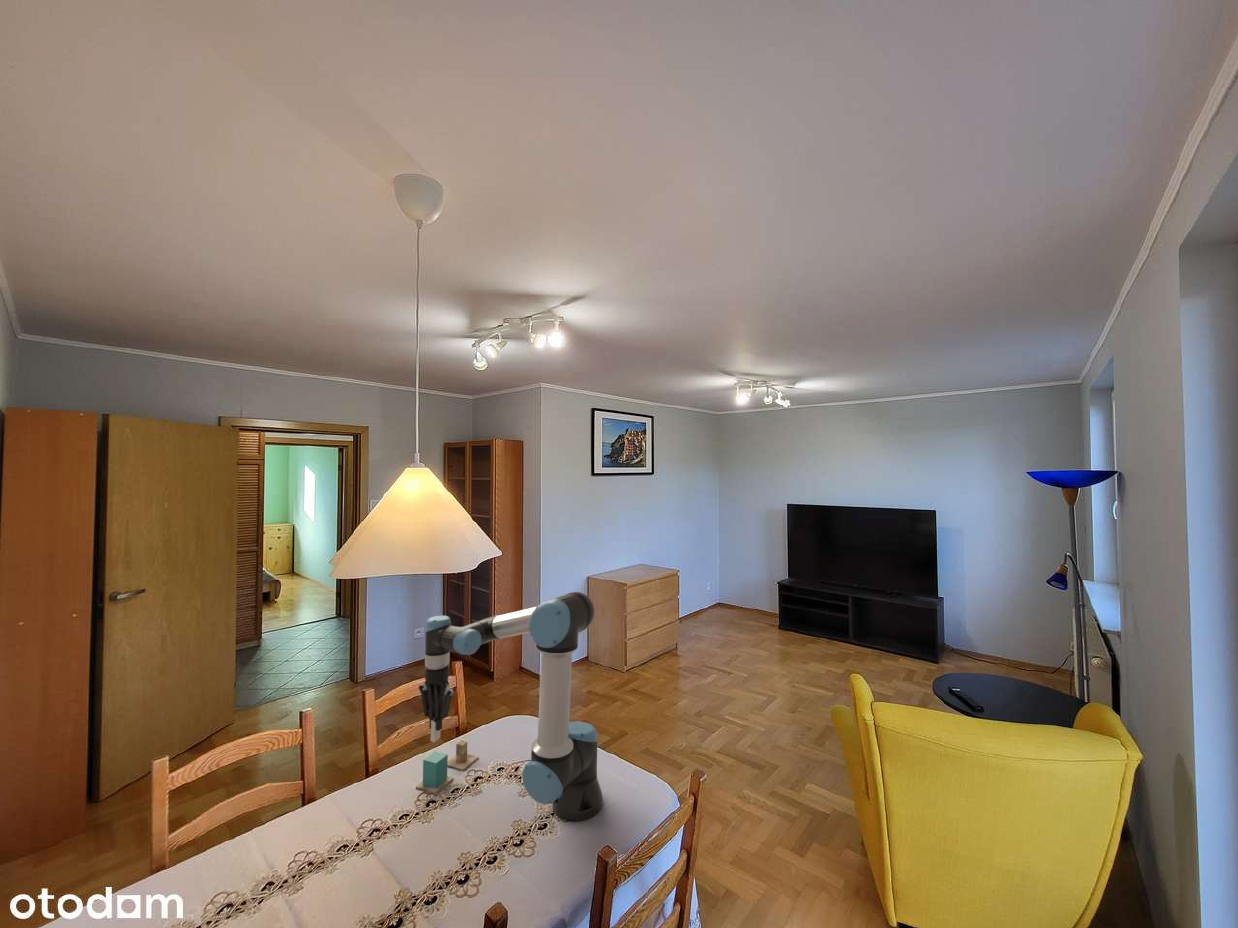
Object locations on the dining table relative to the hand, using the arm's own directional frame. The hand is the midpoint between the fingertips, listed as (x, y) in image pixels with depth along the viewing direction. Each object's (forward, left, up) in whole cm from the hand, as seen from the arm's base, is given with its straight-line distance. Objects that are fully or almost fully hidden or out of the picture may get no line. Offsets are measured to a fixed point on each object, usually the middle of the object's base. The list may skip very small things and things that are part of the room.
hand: (435, 739), depth 155 cm
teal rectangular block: (0, 0, -13) cm, 13 cm away
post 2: (0, -13, -14) cm, 19 cm away
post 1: (0, 0, -14) cm, 14 cm away
